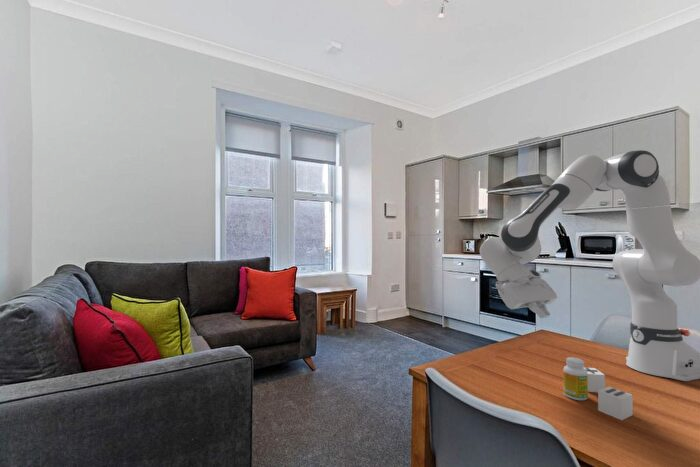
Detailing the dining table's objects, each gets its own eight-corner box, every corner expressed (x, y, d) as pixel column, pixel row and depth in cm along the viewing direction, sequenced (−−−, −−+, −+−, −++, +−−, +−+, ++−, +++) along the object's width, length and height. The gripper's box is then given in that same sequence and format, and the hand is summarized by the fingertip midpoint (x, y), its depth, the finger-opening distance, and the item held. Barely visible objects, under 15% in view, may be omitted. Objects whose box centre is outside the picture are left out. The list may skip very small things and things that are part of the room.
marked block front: (609, 406, 86) (609, 385, 86) (632, 415, 82) (632, 393, 82) (598, 410, 84) (598, 389, 84) (621, 420, 79) (621, 398, 79)
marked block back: (594, 385, 98) (594, 367, 98) (605, 393, 93) (604, 374, 93) (576, 384, 99) (575, 366, 99) (585, 391, 94) (585, 373, 94)
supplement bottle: (580, 402, 88) (579, 364, 88) (559, 394, 92) (558, 358, 93) (592, 398, 90) (591, 361, 90) (571, 390, 95) (570, 355, 95)
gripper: (499, 275, 101) (529, 314, 92) (542, 271, 110) (573, 307, 101) (487, 288, 105) (515, 326, 96) (529, 283, 114) (559, 318, 105)
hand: (545, 316), depth 99 cm, fingers closed
